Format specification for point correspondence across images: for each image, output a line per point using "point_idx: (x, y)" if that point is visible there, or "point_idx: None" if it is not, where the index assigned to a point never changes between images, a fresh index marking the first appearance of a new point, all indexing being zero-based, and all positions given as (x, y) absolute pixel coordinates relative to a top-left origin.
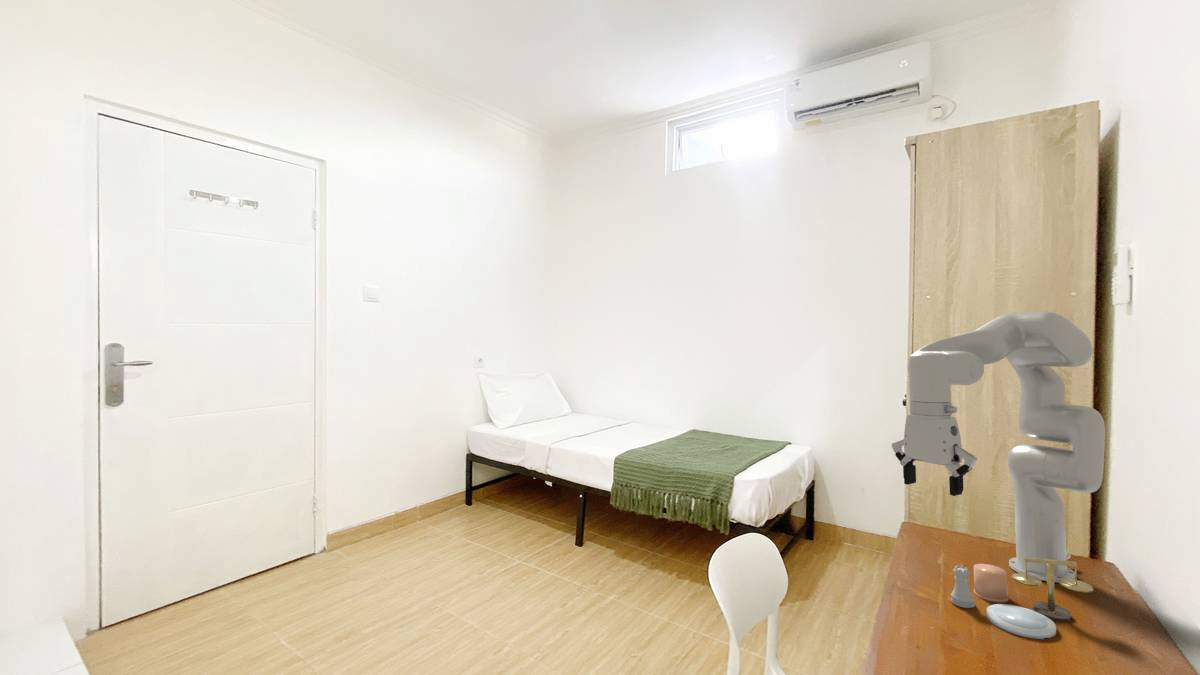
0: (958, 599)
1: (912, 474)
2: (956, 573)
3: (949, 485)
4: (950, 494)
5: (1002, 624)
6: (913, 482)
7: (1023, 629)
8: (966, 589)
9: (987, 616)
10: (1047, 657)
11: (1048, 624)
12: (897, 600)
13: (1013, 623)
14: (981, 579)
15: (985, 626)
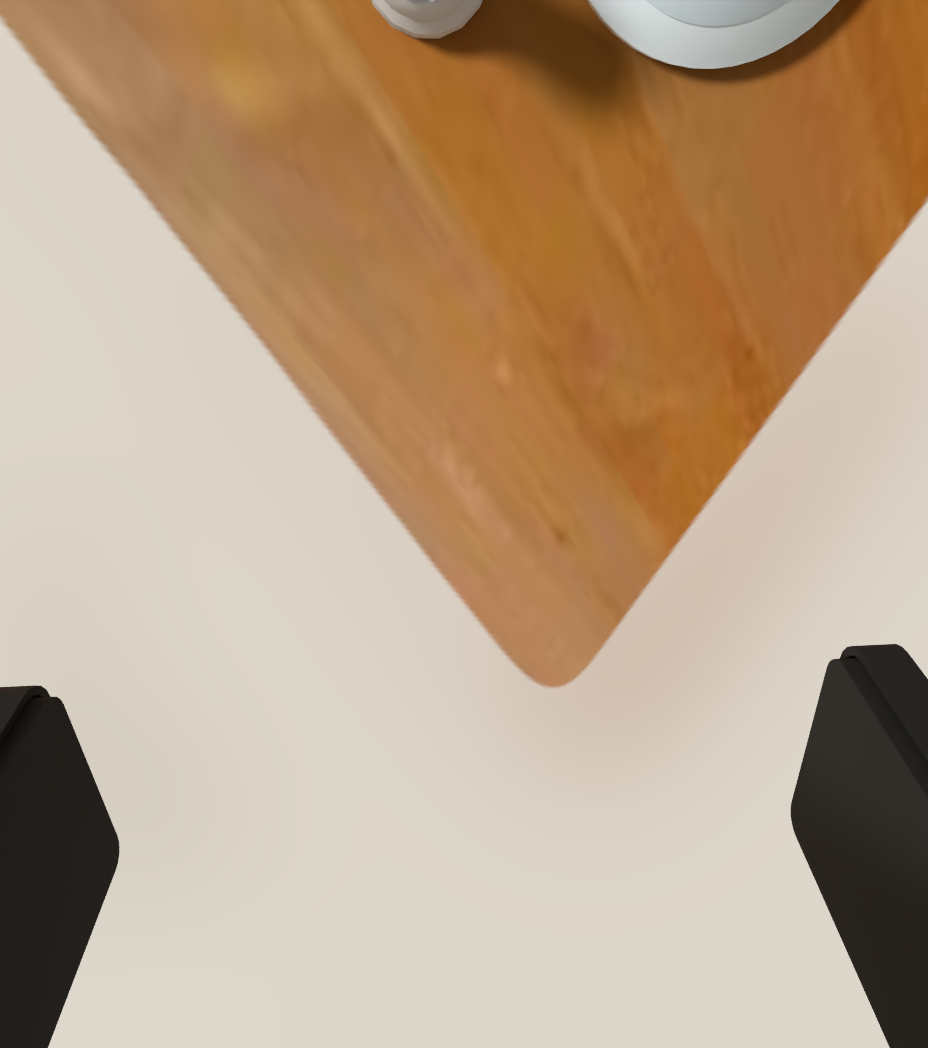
0: (439, 32)
1: (11, 908)
2: (422, 18)
3: (848, 954)
4: (793, 809)
5: (696, 67)
6: (71, 750)
7: (789, 26)
8: None
9: (590, 4)
10: (902, 145)
11: None
12: (260, 290)
13: (738, 14)
14: None
15: (626, 123)
